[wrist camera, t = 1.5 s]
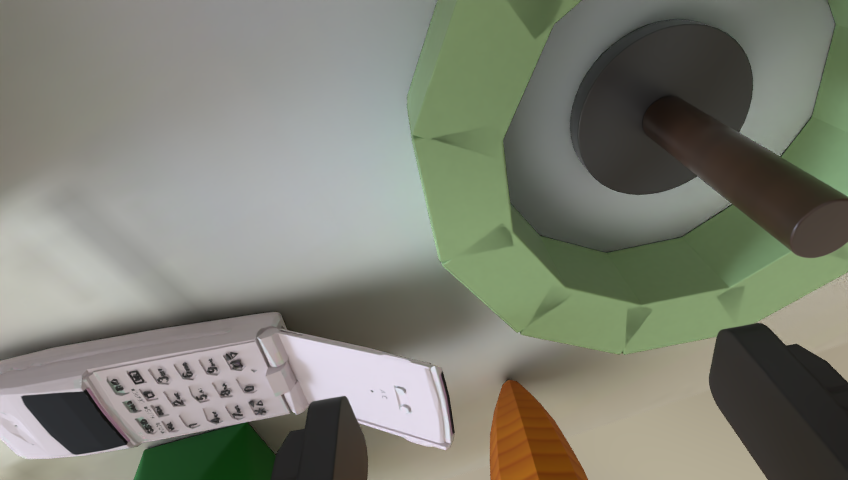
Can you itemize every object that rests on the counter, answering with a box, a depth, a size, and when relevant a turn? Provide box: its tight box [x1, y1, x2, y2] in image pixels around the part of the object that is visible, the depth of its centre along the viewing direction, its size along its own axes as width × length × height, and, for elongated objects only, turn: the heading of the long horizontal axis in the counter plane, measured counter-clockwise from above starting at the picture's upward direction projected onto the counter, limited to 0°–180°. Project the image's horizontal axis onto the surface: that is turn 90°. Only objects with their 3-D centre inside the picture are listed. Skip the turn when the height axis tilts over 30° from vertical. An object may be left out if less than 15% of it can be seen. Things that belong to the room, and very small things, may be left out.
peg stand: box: [570, 20, 848, 258], centre depth 16 cm, size 7×7×10 cm
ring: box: [407, 0, 848, 355], centre depth 19 cm, size 20×20×4 cm
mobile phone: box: [0, 312, 455, 459], centre depth 24 cm, size 6×6×25 cm
